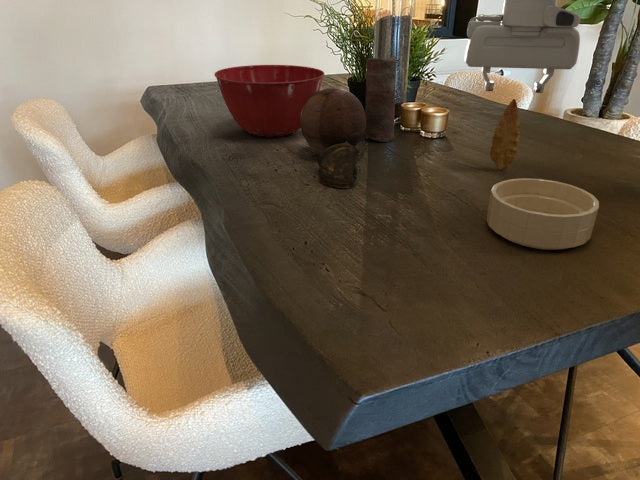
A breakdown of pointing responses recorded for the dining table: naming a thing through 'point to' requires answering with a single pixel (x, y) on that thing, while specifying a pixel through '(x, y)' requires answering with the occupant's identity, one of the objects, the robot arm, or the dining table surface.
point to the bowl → (542, 213)
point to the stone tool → (506, 137)
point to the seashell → (338, 165)
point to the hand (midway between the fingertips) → (513, 91)
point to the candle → (380, 98)
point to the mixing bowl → (268, 96)
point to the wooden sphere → (332, 119)
